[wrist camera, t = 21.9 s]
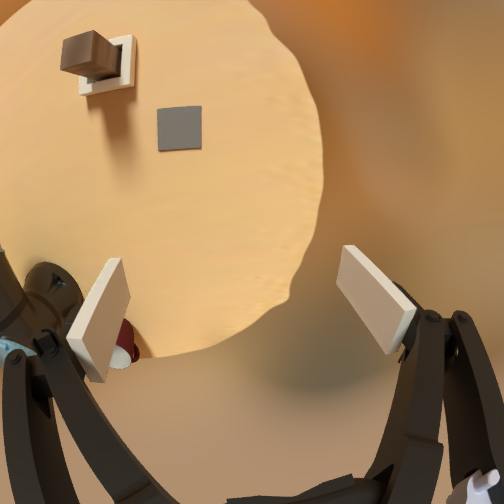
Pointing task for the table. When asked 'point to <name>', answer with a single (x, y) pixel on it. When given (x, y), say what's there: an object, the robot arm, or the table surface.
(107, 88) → the socket block
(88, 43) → the peg
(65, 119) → the table surface
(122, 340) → the mug
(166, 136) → the mat
